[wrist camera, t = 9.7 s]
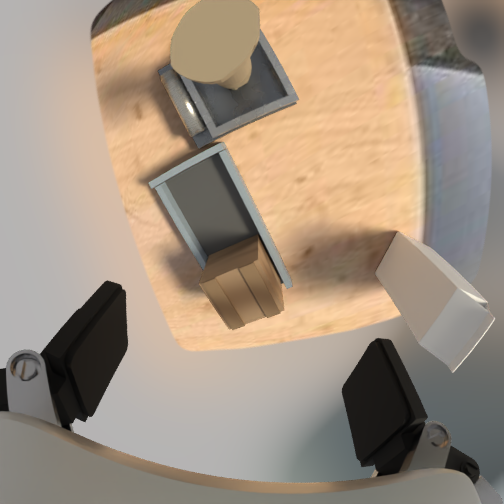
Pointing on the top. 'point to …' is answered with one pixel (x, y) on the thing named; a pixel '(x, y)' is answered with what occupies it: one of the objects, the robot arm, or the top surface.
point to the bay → (214, 206)
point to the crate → (242, 283)
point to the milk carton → (434, 300)
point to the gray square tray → (230, 97)
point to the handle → (216, 42)
